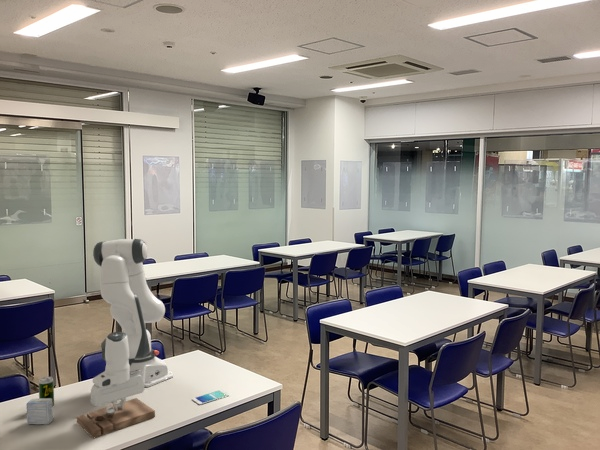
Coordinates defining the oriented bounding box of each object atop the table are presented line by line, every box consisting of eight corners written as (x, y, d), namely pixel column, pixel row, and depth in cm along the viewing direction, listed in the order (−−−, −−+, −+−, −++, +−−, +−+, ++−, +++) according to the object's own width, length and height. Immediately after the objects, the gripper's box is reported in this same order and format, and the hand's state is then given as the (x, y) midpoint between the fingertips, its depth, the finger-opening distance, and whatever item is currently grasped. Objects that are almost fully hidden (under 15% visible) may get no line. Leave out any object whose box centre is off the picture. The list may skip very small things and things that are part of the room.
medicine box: (53, 419, 194) (52, 397, 193) (48, 425, 189) (47, 402, 189) (32, 419, 194) (32, 398, 193) (27, 425, 189) (26, 403, 188)
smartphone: (230, 394, 216) (199, 404, 206) (230, 396, 216) (199, 406, 206) (221, 389, 222) (190, 398, 212) (221, 391, 222) (191, 400, 212)
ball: (107, 416, 192) (114, 410, 194) (110, 418, 190) (117, 412, 192) (103, 409, 191) (110, 404, 193) (106, 412, 189) (113, 406, 191)
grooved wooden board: (136, 403, 208) (136, 398, 207) (154, 416, 196) (154, 410, 196) (77, 422, 191) (76, 416, 191) (93, 438, 180) (93, 431, 179)
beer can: (36, 408, 203) (35, 379, 202) (49, 403, 208) (47, 375, 207) (45, 411, 201) (43, 382, 200) (57, 406, 205) (56, 378, 204)
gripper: (139, 366, 202) (140, 399, 203) (88, 379, 188) (89, 415, 189) (146, 370, 198) (147, 404, 199) (94, 384, 184) (96, 421, 185)
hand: (118, 409), depth 194 cm, fingers closed
